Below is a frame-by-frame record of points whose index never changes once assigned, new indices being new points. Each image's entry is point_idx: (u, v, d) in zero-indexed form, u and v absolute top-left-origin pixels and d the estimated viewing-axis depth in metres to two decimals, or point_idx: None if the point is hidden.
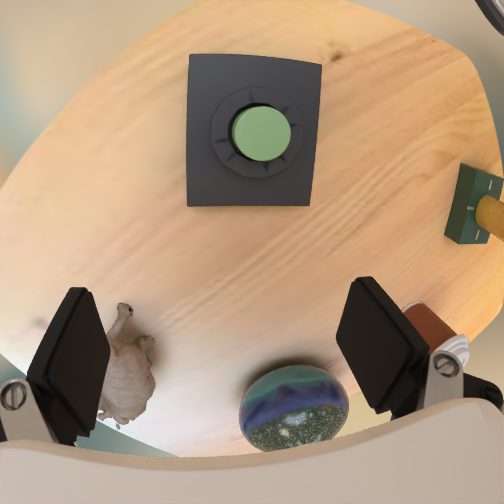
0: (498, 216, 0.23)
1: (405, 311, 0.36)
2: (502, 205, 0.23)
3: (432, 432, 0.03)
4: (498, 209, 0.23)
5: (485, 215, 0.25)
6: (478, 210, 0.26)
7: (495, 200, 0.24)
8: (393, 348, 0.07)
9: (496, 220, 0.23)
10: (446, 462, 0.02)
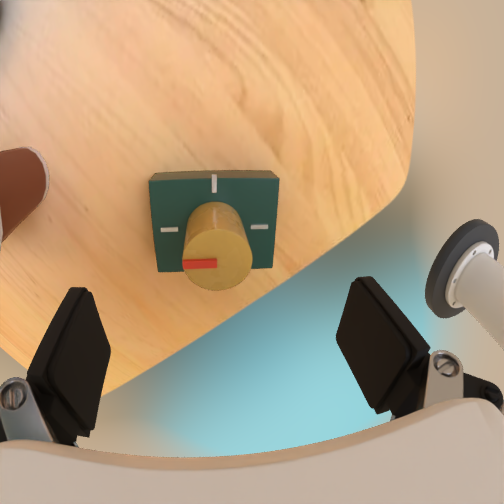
0: (225, 220, 0.18)
1: (35, 152, 0.18)
2: (244, 232, 0.19)
3: (432, 432, 0.03)
4: (236, 222, 0.19)
5: (212, 209, 0.20)
6: (214, 203, 0.21)
7: (243, 227, 0.21)
8: (393, 348, 0.07)
9: (216, 218, 0.18)
10: (446, 462, 0.02)
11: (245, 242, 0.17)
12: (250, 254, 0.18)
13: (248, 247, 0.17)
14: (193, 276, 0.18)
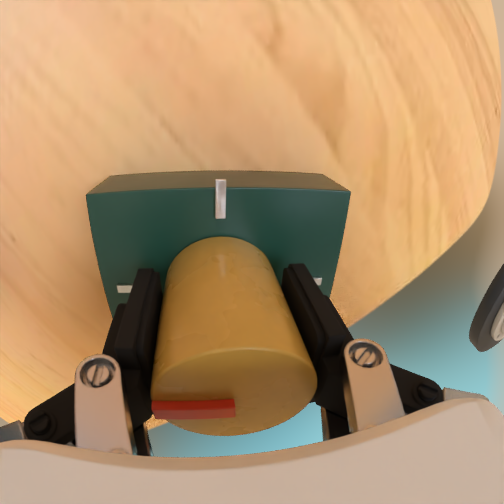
0: (253, 301, 0.07)
1: None
2: (293, 319, 0.08)
3: (432, 432, 0.03)
4: (276, 301, 0.08)
5: (218, 261, 0.09)
6: (221, 241, 0.10)
7: (284, 297, 0.10)
8: (309, 333, 0.08)
9: (230, 298, 0.07)
10: (446, 462, 0.02)
11: (308, 366, 0.06)
12: (314, 384, 0.07)
13: (313, 374, 0.06)
14: (181, 422, 0.07)
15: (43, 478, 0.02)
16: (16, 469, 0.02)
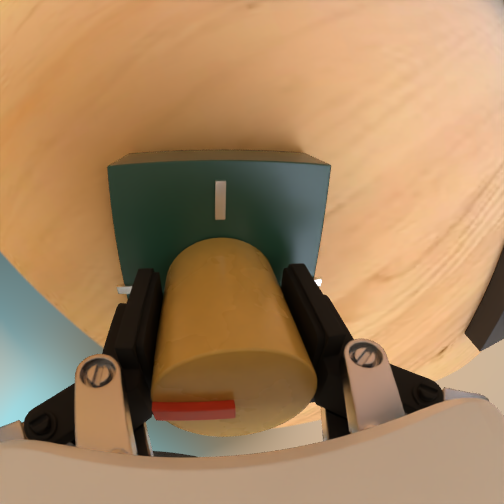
0: (252, 302, 0.07)
1: None
2: (293, 319, 0.08)
3: (432, 432, 0.03)
4: (275, 302, 0.08)
5: (218, 262, 0.09)
6: (221, 242, 0.10)
7: (283, 297, 0.10)
8: (309, 333, 0.08)
9: (230, 299, 0.07)
10: (446, 462, 0.02)
11: (307, 367, 0.06)
12: (314, 385, 0.07)
13: (312, 374, 0.06)
14: (181, 423, 0.07)
15: (43, 478, 0.02)
16: (16, 469, 0.02)
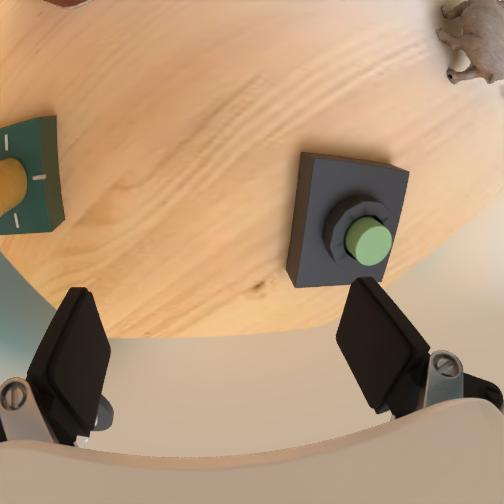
0: None
1: None
2: (1, 178, 0.14)
3: (432, 432, 0.03)
4: None
5: None
6: None
7: (13, 176, 0.15)
8: (393, 348, 0.07)
9: None
10: (446, 462, 0.02)
11: None
12: None
13: None
14: None
15: (43, 478, 0.02)
16: (16, 469, 0.02)
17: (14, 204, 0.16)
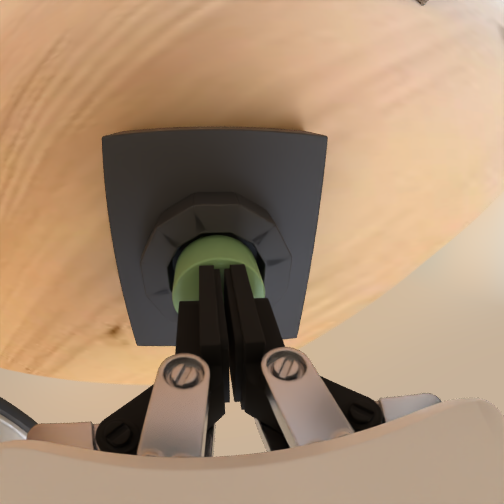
0: None
1: None
2: None
3: (432, 432, 0.03)
4: None
5: None
6: None
7: None
8: (232, 337, 0.07)
9: None
10: (446, 462, 0.02)
11: None
12: None
13: None
14: None
15: (43, 478, 0.02)
16: (16, 469, 0.02)
17: None
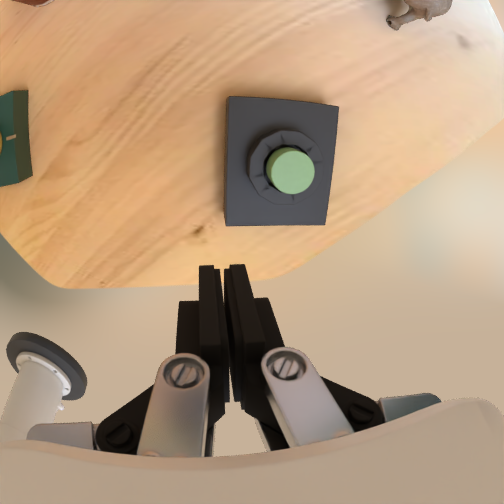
0: None
1: None
2: None
3: (432, 432, 0.03)
4: None
5: None
6: None
7: None
8: (232, 337, 0.07)
9: None
10: (446, 462, 0.02)
11: None
12: None
13: None
14: None
15: (43, 478, 0.02)
16: (16, 469, 0.02)
17: None
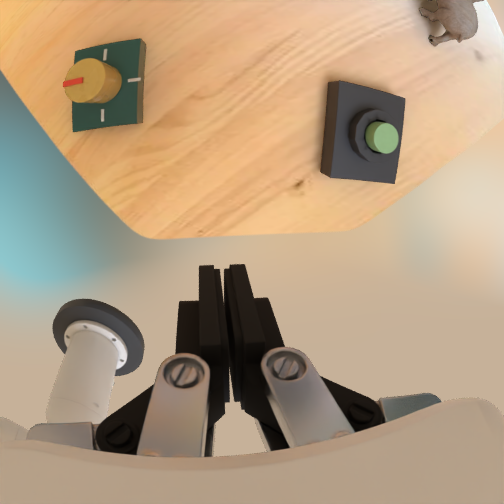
0: None
1: None
2: (110, 69, 0.20)
3: (432, 432, 0.03)
4: (105, 63, 0.19)
5: None
6: None
7: (115, 73, 0.21)
8: (232, 337, 0.07)
9: None
10: (446, 462, 0.02)
11: (101, 64, 0.18)
12: (103, 71, 0.18)
13: (102, 67, 0.18)
14: (69, 93, 0.18)
15: (43, 478, 0.02)
16: (16, 469, 0.02)
17: (110, 96, 0.22)
